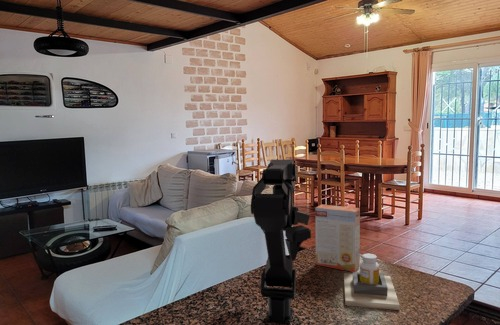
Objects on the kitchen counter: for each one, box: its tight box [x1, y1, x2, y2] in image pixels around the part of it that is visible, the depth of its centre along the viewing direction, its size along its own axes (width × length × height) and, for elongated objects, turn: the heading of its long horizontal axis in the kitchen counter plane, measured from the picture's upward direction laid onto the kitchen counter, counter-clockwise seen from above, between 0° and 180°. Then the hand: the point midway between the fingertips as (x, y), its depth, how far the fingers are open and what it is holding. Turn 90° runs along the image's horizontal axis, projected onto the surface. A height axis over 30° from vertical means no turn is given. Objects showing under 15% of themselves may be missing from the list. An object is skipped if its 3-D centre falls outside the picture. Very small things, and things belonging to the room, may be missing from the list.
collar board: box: [343, 271, 401, 311], centre depth 109 cm, size 18×14×4 cm
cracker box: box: [315, 204, 361, 273], centre depth 128 cm, size 14×6×21 cm, turn 58°
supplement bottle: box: [359, 252, 380, 285], centre depth 109 cm, size 5×5×10 cm
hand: (283, 255), depth 108 cm, fingers open, 9 cm apart
